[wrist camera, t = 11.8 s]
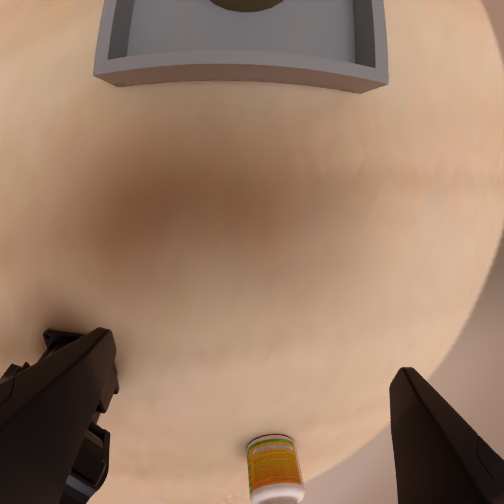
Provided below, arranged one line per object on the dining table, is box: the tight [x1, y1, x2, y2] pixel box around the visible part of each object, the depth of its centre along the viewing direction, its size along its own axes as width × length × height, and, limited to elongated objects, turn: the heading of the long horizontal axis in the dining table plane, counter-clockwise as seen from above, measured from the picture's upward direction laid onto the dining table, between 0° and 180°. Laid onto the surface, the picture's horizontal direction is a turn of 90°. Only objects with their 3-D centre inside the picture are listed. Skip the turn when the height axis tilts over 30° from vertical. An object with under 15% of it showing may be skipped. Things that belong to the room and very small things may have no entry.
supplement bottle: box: [247, 435, 305, 504], centre depth 24 cm, size 5×5×10 cm
